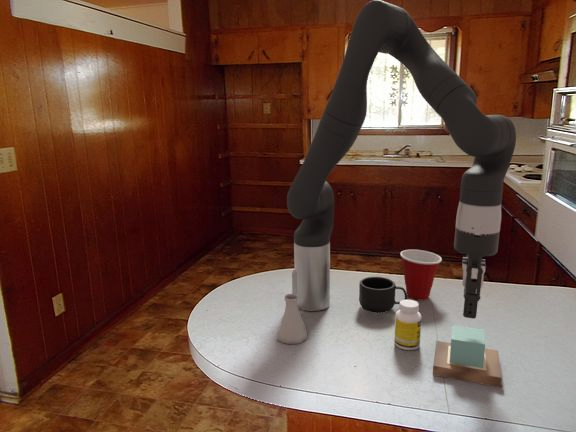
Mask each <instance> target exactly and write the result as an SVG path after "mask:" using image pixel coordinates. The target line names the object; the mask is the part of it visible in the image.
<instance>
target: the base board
mask: <svg viewBox="0 0 576 432" xmlns="http://www.w3.org/2000/svg"><path fill="white" fill-rule="evenodd" d="M450 349H451V342H449V341H448V342H446V341H442V340H441V341H440V340H436V341H435V349H434V357H433V364H432V376H438V377H442V378H448V379H454V380H457V381H458V380H459V381H464V382H471V383H474V384H475V383H476V384H482V385H487V386H491V387H492V386H493V387H495V388H501V387H502V379H503V375H502V370H501V361H500V355H499V350H497V349H491V348H486V347H485V353H484V364H483V368H479V367H473V366H467V365H462V364H456V363H450Z"/></svg>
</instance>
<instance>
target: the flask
mask: <svg viewBox="0 0 576 432" xmlns="http://www.w3.org/2000/svg"><path fill="white" fill-rule="evenodd" d="M297 300H298V295H296V294H292V293H287V294H285V295H284V301H285V308H284V314H283V316H282V318H281V319H282V320H281V322H280V325H279V328H278V331H277V335H276V337H277V338H276V341H279V342H281V343H284V344H287V345H289V344H290V345H291V344H293V345H294V344H296V345H297V344H302V343H303V342H304V341H306V340H307V339H308V331H307V329H306V326H305V324H304V320H303V319H302V316H301V313H300V311H299V308H298V306H297Z"/></svg>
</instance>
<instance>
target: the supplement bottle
mask: <svg viewBox="0 0 576 432" xmlns="http://www.w3.org/2000/svg"><path fill="white" fill-rule="evenodd" d="M399 302H400V304H398V305H399V309H398V310H397V311H396V313H395V320H394V321H395V324H394V340H393V341H394V345H395V346H396V347H397V348H399V349H402V350H404V351H414V350H417V349H419V347H420V344H421V330H422V314H421V313H420V312H419V308H420V307H419V306H420V304H419V302H418V301H417V300H414V299H407V300H405V299H402V300H400V301H399Z"/></svg>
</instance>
